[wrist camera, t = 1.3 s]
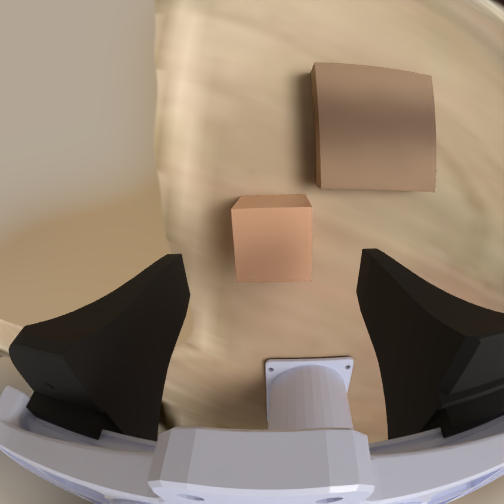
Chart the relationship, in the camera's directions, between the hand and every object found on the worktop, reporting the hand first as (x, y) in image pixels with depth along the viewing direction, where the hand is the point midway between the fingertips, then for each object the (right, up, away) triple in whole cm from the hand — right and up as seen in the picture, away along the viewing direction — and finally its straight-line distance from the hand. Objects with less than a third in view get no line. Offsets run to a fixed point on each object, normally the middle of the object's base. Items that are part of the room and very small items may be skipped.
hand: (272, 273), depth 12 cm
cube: (+1, +3, +10) cm, 10 cm away
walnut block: (+7, +10, +7) cm, 14 cm away
